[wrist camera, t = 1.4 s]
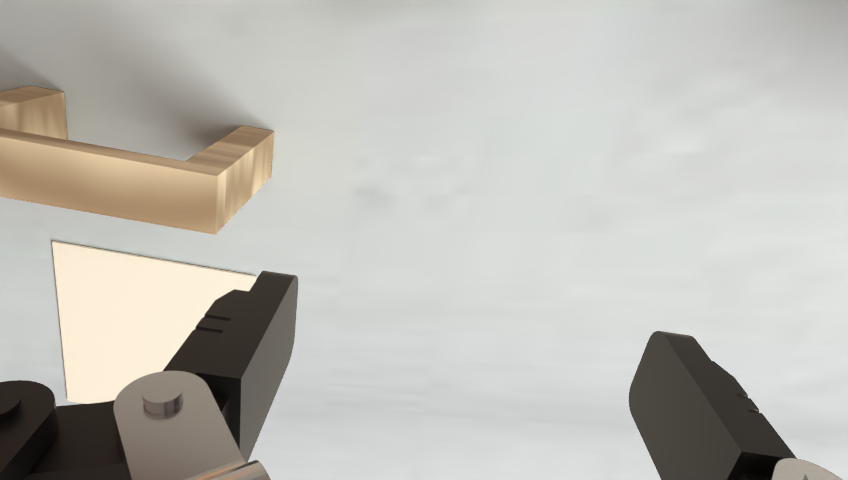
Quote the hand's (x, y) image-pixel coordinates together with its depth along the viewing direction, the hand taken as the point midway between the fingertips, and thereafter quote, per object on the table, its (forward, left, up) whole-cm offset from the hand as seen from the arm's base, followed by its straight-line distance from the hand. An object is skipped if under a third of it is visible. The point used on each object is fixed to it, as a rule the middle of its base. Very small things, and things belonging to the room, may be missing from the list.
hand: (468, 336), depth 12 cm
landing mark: (+20, -18, -24) cm, 36 cm away
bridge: (+4, -18, -23) cm, 30 cm away
